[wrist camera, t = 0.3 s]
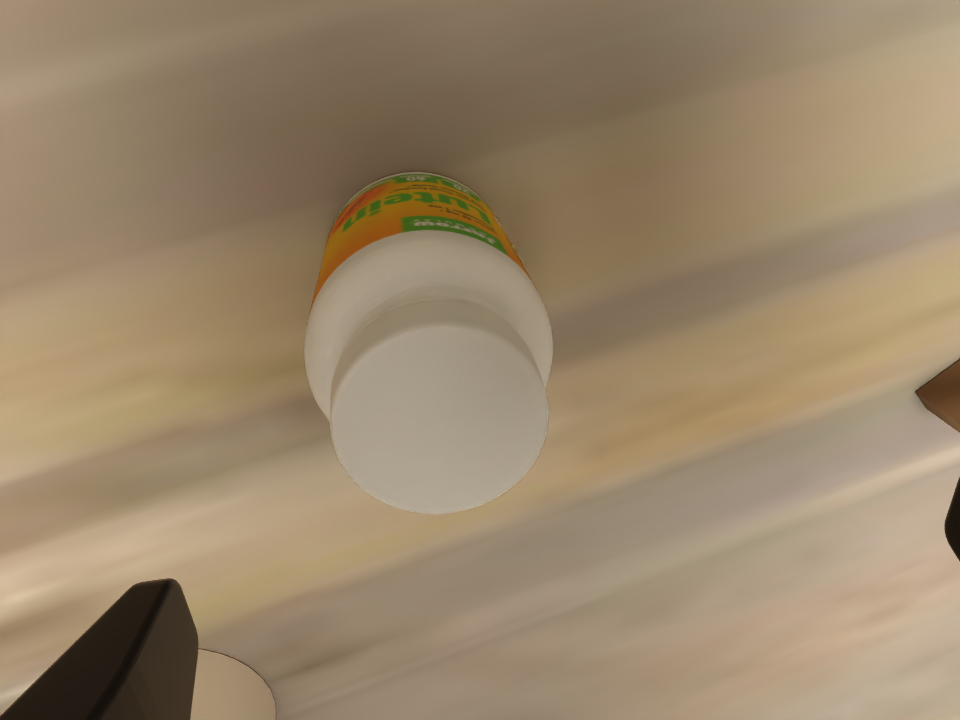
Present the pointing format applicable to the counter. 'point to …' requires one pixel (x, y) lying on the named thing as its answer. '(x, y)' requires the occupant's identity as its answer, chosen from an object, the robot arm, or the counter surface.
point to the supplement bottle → (428, 347)
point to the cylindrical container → (229, 690)
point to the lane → (944, 396)
